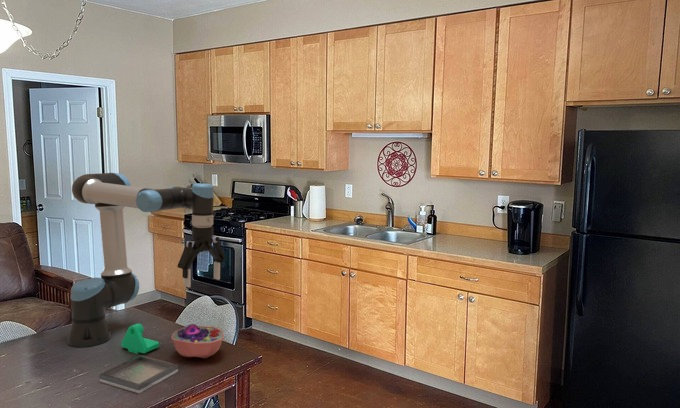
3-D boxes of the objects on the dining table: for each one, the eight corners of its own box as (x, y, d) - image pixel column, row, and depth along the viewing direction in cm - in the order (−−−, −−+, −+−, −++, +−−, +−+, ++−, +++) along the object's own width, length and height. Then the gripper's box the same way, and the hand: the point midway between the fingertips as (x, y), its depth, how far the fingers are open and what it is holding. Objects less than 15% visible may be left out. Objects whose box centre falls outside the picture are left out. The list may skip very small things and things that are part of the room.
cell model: (201, 371, 170) (201, 339, 168) (161, 357, 179) (160, 327, 178) (235, 353, 184) (235, 324, 183) (195, 342, 194) (195, 314, 193)
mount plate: (99, 381, 160) (99, 374, 160) (140, 361, 175) (140, 354, 175) (139, 393, 153) (138, 385, 153) (177, 371, 168) (177, 364, 168)
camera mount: (160, 349, 187) (160, 322, 186) (144, 356, 180) (143, 329, 179) (137, 342, 192) (137, 317, 191) (121, 349, 186) (120, 323, 185)
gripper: (180, 231, 168) (180, 292, 171) (235, 223, 188) (234, 277, 191) (166, 228, 172) (167, 287, 175) (222, 221, 193) (221, 274, 195)
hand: (202, 282), depth 183 cm, fingers open, 13 cm apart
